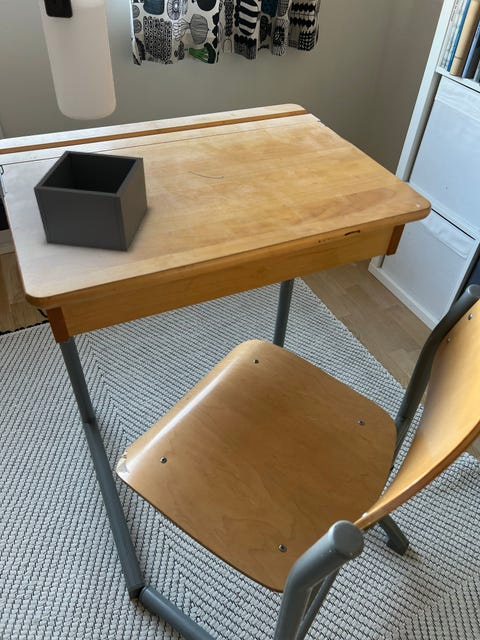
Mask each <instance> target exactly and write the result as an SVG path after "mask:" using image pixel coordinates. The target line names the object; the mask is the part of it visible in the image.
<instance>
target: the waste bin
mask: <svg viewBox="0 0 480 640" xmlns="http://www.w3.org/2000/svg"><path fill="white" fill-rule="evenodd" d="M146 187H147V186H146V174H145V163H144V158H143V157H138V156H130V155H129V156H127V155H117V154H107V153H97V152H87V151H77V150H76V151H75V150H65V151H64V152H63V153H62V154H61V156H60V157H59V158H58V159H57V160H56V161H55V162H54V164H53V165H52V166H51V167H50V168H49V169H48V171H47V172H46V173H45V174H44V175H43V177H42V178H41V179H40V180H39V181H38V182H37V183H36V185H34V187H33V192H34V196H35V199H36V203H37V204H36V205H37V208H38V212H39V215H40V220H41V224H42V228H43V231H44V236H45V240H46V244H49V245H58V246H70V247H77V248H78V247H79V248H88V249H97V250H104V251H105V250H106V251H116V252H117V251H118V252H125V253H126V252H128V251H129V249H130V247H131V245H132V243H133V242H134V239H135V237H136V235H137V233H138V231H139V228H140V227H141V225H142V223H143V220H144V219H145V216H146V214H147V212H148V210H149V209H148V198H147V197H148V196H147V188H146Z"/></svg>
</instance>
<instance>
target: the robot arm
mask: <svg viewBox="0 0 480 640" xmlns="http://www.w3.org/2000/svg"><path fill="white" fill-rule="evenodd" d="M44 3H45V9H46V14H47V15H48V16H49V17H59V18H71V17H72V16H73V12H72V5H71V0H44Z"/></svg>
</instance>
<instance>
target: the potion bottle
mask: <svg viewBox="0 0 480 640" xmlns="http://www.w3.org/2000/svg"><path fill="white" fill-rule="evenodd" d="M71 5H72V12H73V16H72V17H71V18H59V17H49V16H48V15H47V14H46V9H45V3H44V0H38V7H39V8H38V9H39V12H40V18H41V23H42V28H43V34H44V39H45V44H46V50H47V54H48V55H47V56H48V59H49V65H50V71H51V76H52V80H53V85H54V86H53V87H54V92H55V96H56V102H57V107H58V109H59V112H60V113H61V114H63V116H66V117H67V118H69V119H72V120H76V121H95V120H96V121H97V120H101V119H105V118H107V117H108V116H110V115H112V114H113V113H114V111H115V110H116V109H117V99H116V92H115V84H114V75H113V74H114V73H113V65H112V57H111V56H112V55H111V48H110V39H109V29H108V21H107V13H106V4H105V0H71Z"/></svg>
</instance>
